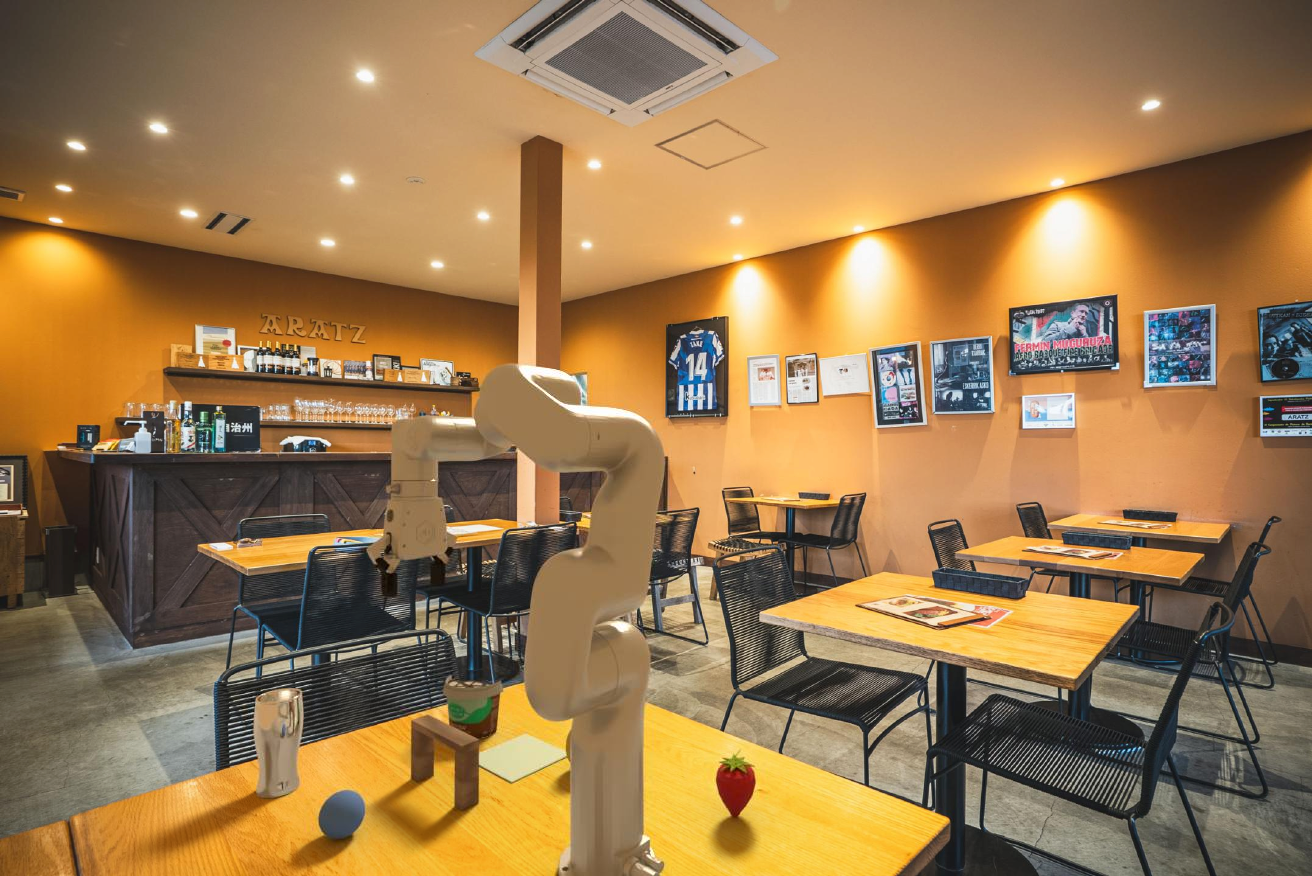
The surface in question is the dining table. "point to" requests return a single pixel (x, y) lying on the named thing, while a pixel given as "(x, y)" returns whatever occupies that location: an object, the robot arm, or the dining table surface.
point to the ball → (341, 814)
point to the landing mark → (519, 757)
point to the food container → (473, 706)
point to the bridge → (465, 757)
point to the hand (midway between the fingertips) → (414, 590)
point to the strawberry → (735, 783)
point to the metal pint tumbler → (278, 741)
